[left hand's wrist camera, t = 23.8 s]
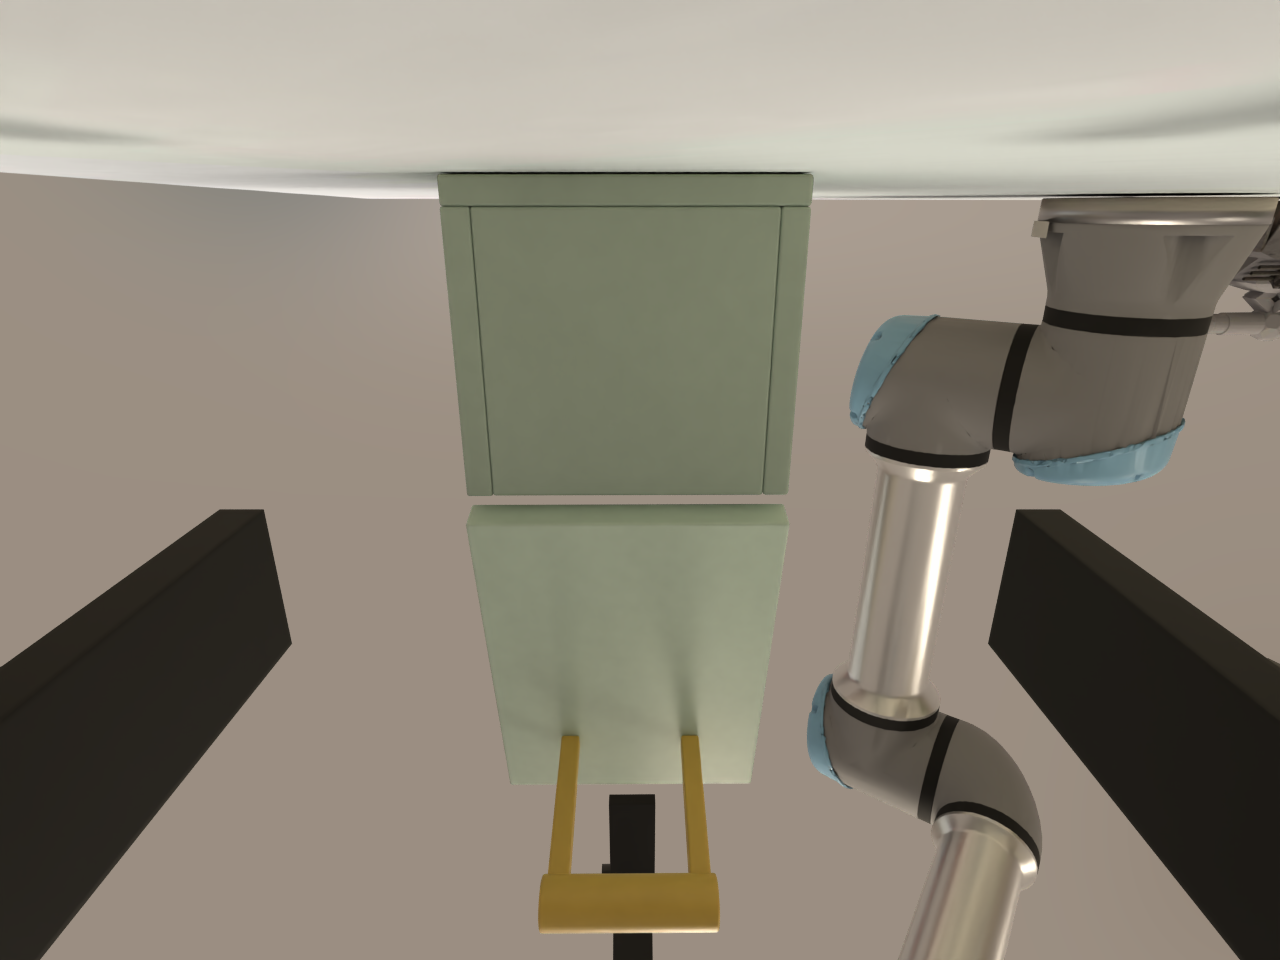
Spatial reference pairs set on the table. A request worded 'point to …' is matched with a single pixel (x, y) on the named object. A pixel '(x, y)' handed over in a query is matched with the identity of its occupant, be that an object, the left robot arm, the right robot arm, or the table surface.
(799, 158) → the table surface
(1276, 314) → the toy
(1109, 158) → the table surface
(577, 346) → the chest
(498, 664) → the lid
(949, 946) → the right robot arm
